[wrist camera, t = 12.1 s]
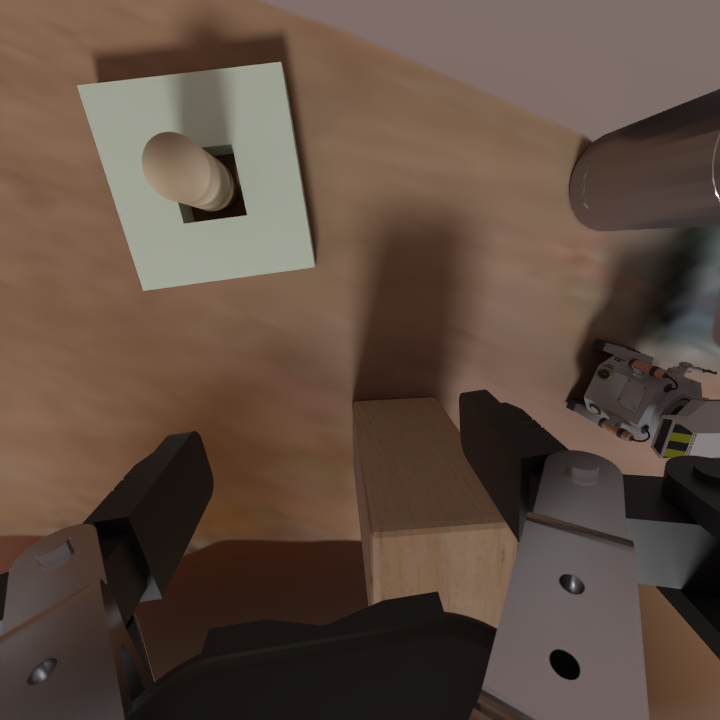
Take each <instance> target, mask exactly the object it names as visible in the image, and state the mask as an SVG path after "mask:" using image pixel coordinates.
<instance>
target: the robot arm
mask: <svg viewBox="0 0 720 720" xmlns="http://www.w3.org/2000/svg"><path fill="white" fill-rule="evenodd" d="M570 201H571V205H572V209H573V211H574V213H575V215H576V217H577V218H578V219H579V220H580V221H581V223H583V224H584V225H586V226H587V227H588V228H591V229H594V230H597V231H619V230H642V229H662V228H681V227H701V226H720V89H718V90H716V91H713V92H711V93H708V94H706V95H703V96H701V97H698V98H696V99H693V100H691V101H688V102H686V103H683V104H681V105H678V106H676V107H673V108H671V109H668V110H666V111H663V112H661V113H658V114H656V115H653V116H651V117H649V118H646V119H643V120H641V121H638V122H636V123H633V124H631V125H628V126H626V127H623V128H621V129H618V130H616V131H613V132H611V133H608V134H606V135H604V136H602V137H600V138H599V139H597V140H596V141H594V142H593V143H592V144H591V145H590V146H589V147H588V148H587V149H586V150H585V151H584V153H583V154H582V155H581V157H580V158H579V160H578V162H577V164H576V166H575V168H574V171H573V174H572V177H571V182H570ZM459 411H460V437H461V445H462V449H463V452H464V455H465V457H466V459H467V461H468V462H469V464H470V466H471V467H472V469H473V470H474V472H475V474H476V475H477V477H478V478H479V480H480V482H481V483H482V485H483V486H484V488H485V490H486V491H487V493H488V494H489V496H490V498H491V499H492V501H493V502H494V504H495V506H496V507H497V509H498V510H499V512H500V514H501V515H502V517H503V518H504V520H505V522H506V523H507V525H508V526H509V528H510V530H511V531H512V533H513V534H514V536H515V537H516V539H517V541H518V542H519V547H518V551H517V555H516V559H515V562H514V566H513V570H512V574H511V578H510V582H509V586H508V589H507V593H506V597H505V601H504V605H503V609H502V613H501V617H500V620H499V624H498V628H495V627H493V626H491V625H489V624H487V623H485V622H483V621H480V620H478V619H475V618H472V617H469V616H466V615H461V614H457V613H452V612H444V610H443V606H442V603H441V600H440V596H439V593H438V591H437V592H431V593H425V594H419V595H413V596H406V597H400V598H394V599H388V600H382V601H380V602H378V603H376V604H373V605H371V606H369V607H366V608H364V609H362V610H360V611H357V612H355V613H353V614H351V615H348V616H346V617H344V618H341V619H339V620H337V621H335V622H332V623H330V624H327V625H310V624H302V623H294V622H285V621H276V620H267V619H266V620H260V621H253V622H248V623H241V624H236V625H230V626H223V627H217V628H211V629H209V631H208V634H207V637H206V640H205V643H204V646H203V649H202V652H201V653H200V654H198V655H196V656H194V657H192V658H190V659H189V660H187V661H185V662H183V663H181V664H180V665H178V666H177V667H175V668H174V669H172V670H171V671H169V672H168V673H166V674H165V675H163V676H162V677H161V678H160V679H158V680H157V681H156V682H155V681H154V678H153V674H152V671H151V667H150V663H149V660H148V656H147V652H146V649H145V645H144V641H143V638H142V634H141V630H140V627H139V623H138V620H137V618H136V616H135V614H134V611H135V609H136V607H137V605H138V604H139V602H143V601H149V600H156V599H161V598H163V596H164V594H165V592H166V589H167V587H168V585H169V583H170V581H171V579H172V577H173V575H174V573H175V571H176V569H177V567H178V565H179V563H180V560H181V558H182V556H183V554H184V552H185V550H186V548H187V546H188V544H189V542H190V540H191V538H192V536H193V534H194V531H195V529H196V527H197V525H198V523H199V521H200V519H201V517H202V515H203V513H204V511H205V509H206V507H207V505H208V502H209V500H210V498H211V496H212V493H213V475H212V472H211V468H210V465H209V462H208V458H207V455H206V452H205V449H204V445H203V442H202V439H201V436H200V435H199V433H198V432H196V431H193V432H186V433H179V434H173V435H169V436H167V437H166V438H165V440H164V441H163V442H162V443H161V444H160V445H159V446H158V448H157V449H156V450H155V451H154V452H153V453H152V454H151V455H149V456H148V457H146V458H145V459H143V460H142V461H140V462H139V463H138V464H136V465H135V466H134V467H133V468H132V469H131V470H130V471H129V472H128V474H127V475H126V476H125V477H124V480H122V481H120V482H119V484H118V485H117V486H116V487H115V488H114V491H111V492H110V494H109V495H108V496H107V497H106V498H105V499H104V500H103V501H102V502H101V504H100V505H99V506H98V507H97V508H96V509H95V510H94V511H93V512H92V514H91V515H90V516H89V517H88V518H87V519H86V520H85V521H84V523H83V524H78V525H73V526H70V527H67V528H64V529H61V530H59V531H56V532H54V533H52V534H50V535H48V536H46V537H45V538H43V539H41V540H40V541H38V542H37V543H35V544H34V545H32V546H31V547H30V548H28V549H27V550H26V551H25V552H23V553H22V554H21V555H20V556H19V557H18V558H17V560H16V561H15V562H14V563H13V565H12V566H11V568H10V571H9V572H6V573H4V574H1V575H0V720H649V712H648V700H647V690H646V677H645V666H644V654H643V641H642V630H641V618H640V607H639V594H638V583H639V584H647V585H654V586H656V587H657V589H658V590H659V591H660V592H661V593H662V594H663V595H664V597H665V598H666V599H667V600H668V601H669V602H670V603H671V604H672V606H673V607H674V608H675V609H676V610H677V611H678V613H679V614H680V615H681V616H682V617H683V618H684V619H685V621H686V622H687V623H688V624H689V625H690V626H691V627H692V628H693V630H694V631H695V632H696V633H697V634H698V635H699V636H700V638H701V639H702V640H703V641H704V642H705V643H706V644H707V646H708V647H709V648H710V649H711V650H712V651H713V653H714V654H715V655H716V656H717V657H718V658H719V659H720V460H717V459H713V458H708V457H703V456H692V455H685V456H677V457H673V458H671V459H669V460H668V461H667V462H666V465H665V471H664V476H663V477H656V476H639V475H625V474H622V473H621V471H620V469H619V468H618V467H617V466H616V465H614V464H613V463H612V462H610V461H609V460H607V459H605V458H603V457H601V456H598V455H595V454H592V453H588V452H584V451H576V450H568V449H567V448H566V447H565V446H564V445H563V444H561V443H560V442H559V441H558V440H557V439H556V438H554V437H553V436H552V435H551V434H550V433H549V432H548V431H546V430H545V429H544V428H541V425H539V424H538V423H537V422H536V421H535V420H532V418H531V417H530V416H529V415H528V414H527V413H526V412H524V411H523V410H522V409H520V408H518V407H516V406H513V405H511V404H509V403H500V402H499V401H498V400H497V399H496V398H495V397H494V396H493V395H491V394H490V393H489V392H488V391H487V390H478V391H472V392H465V393H461V394H460V397H459Z"/></svg>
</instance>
